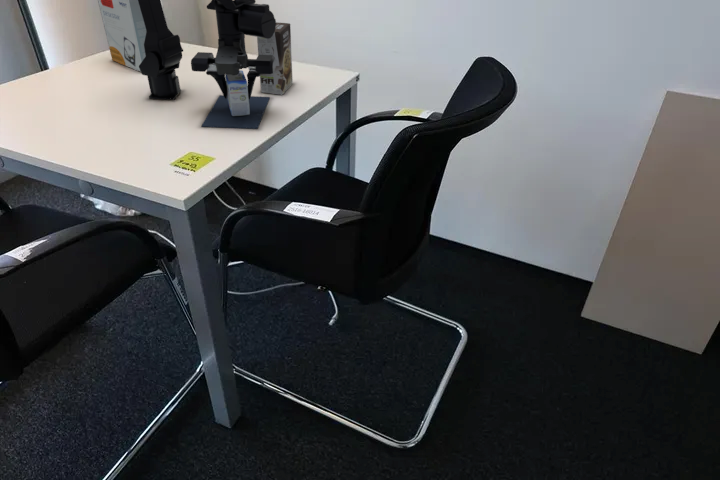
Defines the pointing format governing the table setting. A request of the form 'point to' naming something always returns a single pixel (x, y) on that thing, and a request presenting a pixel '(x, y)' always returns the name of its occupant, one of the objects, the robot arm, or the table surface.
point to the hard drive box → (124, 31)
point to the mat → (224, 119)
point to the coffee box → (277, 60)
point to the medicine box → (237, 94)
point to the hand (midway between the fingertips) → (237, 98)
